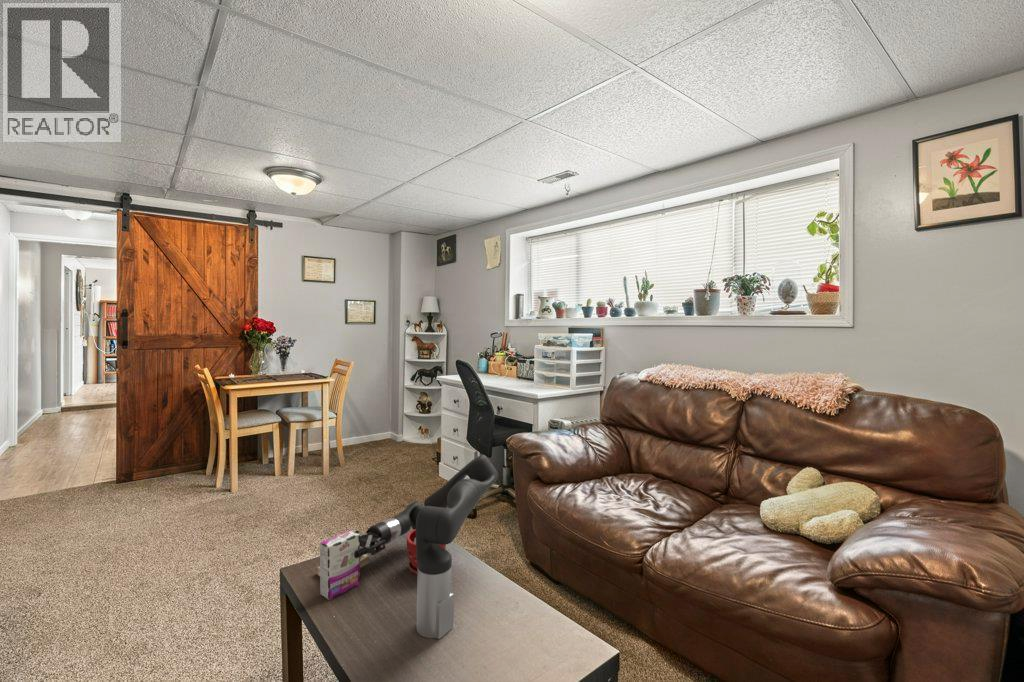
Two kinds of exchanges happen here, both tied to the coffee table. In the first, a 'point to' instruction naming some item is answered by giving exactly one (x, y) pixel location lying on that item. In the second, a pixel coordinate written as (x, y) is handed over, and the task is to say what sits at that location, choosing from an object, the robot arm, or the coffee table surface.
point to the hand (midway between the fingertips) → (345, 551)
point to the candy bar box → (339, 564)
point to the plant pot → (414, 551)
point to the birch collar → (363, 561)
